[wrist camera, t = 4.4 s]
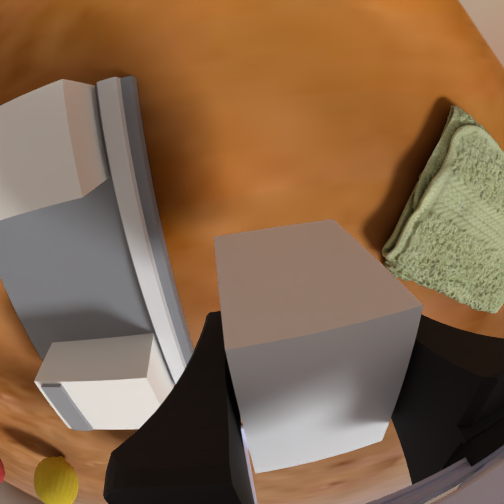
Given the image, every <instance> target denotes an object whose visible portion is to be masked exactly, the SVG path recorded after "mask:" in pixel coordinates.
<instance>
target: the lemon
mask: <svg viewBox="0 0 504 504" xmlns="http://www.w3.org/2000/svg"><path fill="white" fill-rule="evenodd" d="M34 487H35V491H36V493H37V495H38V496H39V498H40V499H41V500H42V501H43V502H44V503H45V504H72V503H73V502H74V500H75V498H76V496H77V493H78V477H77V474H76V472H75V470H74V468H73V467H72V466H71V465H70V464H69V463H68V462H66V460H65V458H64V457H63V456H58V457H48V458H45V459H43V460H42V461H41V462H40V463H39V464H38V466H37V468H36V470H35V475H34Z"/></svg>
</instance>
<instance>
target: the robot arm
mask: <svg viewBox="0 0 504 504" xmlns="http://www.w3.org/2000/svg"><path fill="white" fill-rule="evenodd" d="M391 419H392V421H393V424H394V426H395V429H396V432H397V434H398V437H399V440H400V443H401V446H402V449H403V452H404V455H405V458H406V462H407V466H408V469H409V473H410V477H411V481H412V485H411V486H409V487H406V488H404V489H402V490H399V491H397V492H395V493H392V494H390V495H387V496H385V497H382V498H379V499H377V500H374V501H371V502H369V503H366V504H423V503H425V502H427V501H429V500H431V499H433V498H435V497H437V496H439V495H441V494H442V493H444V492H446V491H448V490H450V489H451V488H453V487H455V486H456V485H458V484H460V483H461V484H460V485H459V487H458V488H457V490H455V491H453V492H452V493H450V494H448V495H446V496H444V497H442V498H441V499H439V500H437V501H435V502H433V503H431V504H504V339H503V338H496V337H490V336H485V335H480V334H475V333H472V332H468V331H464V330H460V329H457V328H454V327H451V326H448V325H446V324H443V323H440V322H438V321H435V320H433V319H430V318H428V317H426V316H424V315H422V314H421V318H420V322H419V327H418V331H417V335H416V339H415V343H414V346H413V350H412V354H411V357H410V361H409V364H408V368H407V371H406V374H405V378H404V381H403V384H402V387H401V390H400V393H399V396H398V399H397V402H396V405H395V408H394V410H393V413H392V416H391ZM248 449H249V447H248V443H247V439H246V435H245V431H244V427H243V426H242V425H241V419H240V411H239V407H238V403H237V399H236V395H235V391H234V387H233V382H232V378H231V374H230V369H229V365H228V361H227V356H226V352H225V345H224V336H223V327H222V317H221V311H218V312H211V313H209V314H208V315H207V316H206V321H205V324H204V327H203V330H202V333H201V336H200V338H199V341H198V343H197V345H196V347H195V350H194V352H193V354H192V356H191V358H190V360H189V362H188V364H187V366H186V368H185V370H184V371H183V373H182V375H181V377H180V378H179V380H178V381H177V383H176V384H175V386H174V388H173V389H172V390H171V392H170V393H169V395H168V396H167V397H166V399H165V400H164V401H163V403H162V404H161V405H160V406H159V408H158V409H157V410H156V411H155V412H154V414H153V415H152V416H151V417H150V418H149V419H148V420H147V421H146V422H145V423H144V424H143V425H142V426H141V427H140V428H139V429H138V430H137V431H136V432H135V433H134V434H133V435H132V436H131V437H130V438H128V439H127V440H126V441H125V442H124V443H122V444H121V445H120V446H119V447H118V448H116V449H115V450H114V451H112V452H111V456H110V460H109V463H108V466H107V470H106V477H105V485H104V493H103V496H104V499H105V500H106V501H107V502H108V503H109V504H257V499H256V493H255V488H254V482H253V477H252V471H251V465H250V459H249V454H248ZM463 481H464V482H463Z"/></svg>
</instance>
